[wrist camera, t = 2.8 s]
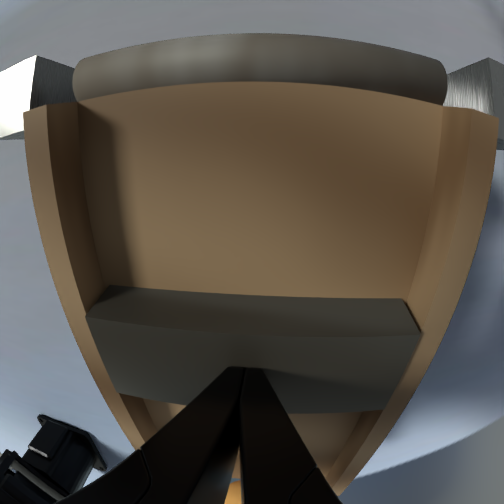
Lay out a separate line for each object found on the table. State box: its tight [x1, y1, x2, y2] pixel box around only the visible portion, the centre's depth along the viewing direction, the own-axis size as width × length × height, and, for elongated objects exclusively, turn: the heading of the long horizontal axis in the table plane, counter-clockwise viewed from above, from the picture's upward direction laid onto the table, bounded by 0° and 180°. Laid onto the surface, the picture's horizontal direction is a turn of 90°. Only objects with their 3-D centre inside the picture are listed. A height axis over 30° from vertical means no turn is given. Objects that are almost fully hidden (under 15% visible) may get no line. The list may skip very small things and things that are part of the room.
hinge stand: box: [0, 55, 504, 150], centre depth 9 cm, size 5×14×8 cm, turn 89°
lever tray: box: [23, 33, 499, 496], centre depth 9 cm, size 19×10×3 cm, turn 179°
